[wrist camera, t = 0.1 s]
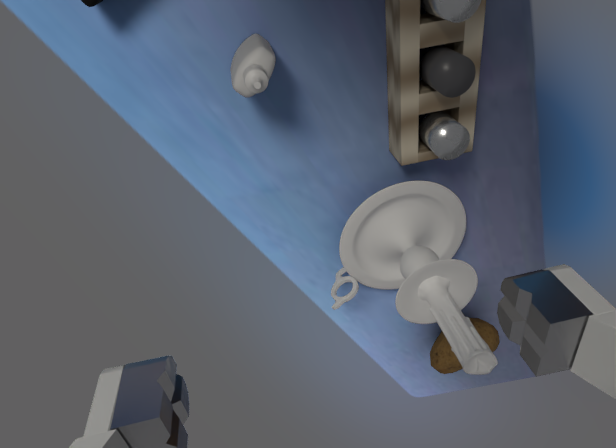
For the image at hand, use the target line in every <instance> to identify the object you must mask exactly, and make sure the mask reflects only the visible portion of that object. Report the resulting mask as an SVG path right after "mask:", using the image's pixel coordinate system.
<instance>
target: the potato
mask: <svg viewBox="0 0 616 448" xmlns="http://www.w3.org/2000/svg"><path fill="white" fill-rule="evenodd" d="M469 319H470V321H471V323H472V324H473V326H474V327H475V329H476V330H477V332H478V333H479V335H480V336H481V338H482V339H483V340H484V341H485V342H486V343H487V344H488V346H489V348H490V350H491V351H492V352H493V351H495V350H496V348H497V347H498V344H499V335H498V331H497V330H496V329H495V327H494V326H493V325H491V324H489V323H487V322H486V321H483V320H481V319H479V318H469ZM451 348H452V347H451V346H450V344H449V342H448V340H447V339H446V337H445V335H444V333H443V332H441V333H440V335H439V336H438V337H437V339H436V341H435V342H434V344H433V346H432V349H431V351H430V360H431V366H432V367H433V368H434V369H436V370H437V371H438V372H440V373H443V374H447V373H453V372H456V371H458V370H461V369H463V368H462V365H461V364H460V362H459V360H458V358H457V357H456V355H455V353H454V352H453V351H452V350H451Z"/></svg>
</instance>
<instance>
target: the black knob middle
mask: <svg viewBox="0 0 616 448" xmlns="http://www.w3.org/2000/svg"><path fill="white" fill-rule="evenodd" d="M419 73H420V77H421V79H422V80H423V81H424V82H425V83H426V84H428V85H429V86H431V87H432V88H433V89H435V90H436V91H438V92H439V93H441V94H442V95H443V96H445V97H449V98H453V97H458V96H460V95H462V94H464V93H465V92H466V91H467V90H468V89H469V88H470V87H471V85H472V83H473V81H474V79H475V74H476V69H475V65H474V63H473V61H472V60H471V59H470V58H468V57H466V56H464V55H462V54H460V53H458V52H456V51H454V50H452V49H450V48H448V47H445V46H437V47H434V48H432V49H431V50H429V51H428V52H427V53H426V54H425V55H424V57H423V58H422V60H421V63H420V67H419Z"/></svg>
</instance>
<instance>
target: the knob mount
mask: <svg viewBox="0 0 616 448" xmlns="http://www.w3.org/2000/svg"><path fill="white" fill-rule="evenodd" d="M485 7H486V0H481V3H480V5H479V7H478V9H477V10H476V12H475V13H474V14H473V15H472V16H471V17H470V18H469V19H467V20H465V21H463V22H459V23H453V22H450V21H447V20H445V19H442V18H439V17H436V16H434V15H431V14H429V13H427V14H421V15H420V0H385V9H386V46H387V82H388V119H389V151H390V152H391V153H392V154H393V156H394V157H395V158H396V159H397V161H398V162H399V163H400V164H401V166H403V165H408V164H412V163H417V162H422V161H427V160H432V159H437V158H439V157H438V156H437V155H436V154H435V153H434V152H433V151H432V150H431V149H430V148H429V147H428V146H427V145H426V144H425V143H424V142H423V141H422V140H421V139H420V137H419V136H418V126H419V115H420V114H425V113H431V112H436V111H441V110H442V111H443V112H446V113H447V114H448V115H450V116H451V117H452V118H454V119H455V120H456V121H457V122H459V123H460V124H461V125H463V126H464V127H465V128H466V129H467V130H468V132H469V134H470V142H469V145H468V147H467V149H466V150H465V151H464V153H466V152H471V151H472V149H473V138H474V127H475V116H476V105H477V94H478V83H479V73H480V62H481V51H482V40H483V29H484V18H485ZM442 44H445V47H448V48H450V49H452V50H454V51H456V52H458V53H460V54H462V55H464V56H466V57H468V58H470V59H471V60H472V61H473V63H474V65H475V69H476V74H475V79H474V81H473V83H472V85H471V87H470V88H469V89H468V90H467V91H466V92H465V93H464V94H462V95H460V96H458V97H453V98H449V97H445V96H443V95H442V94H441V93H439V92H438V91H436V90H435V89H433V88H432V87H431V86H429V85H428V84H426V83H425V82H424V81H423V80H419V54H420V49H421V48H426V47H431V46H437V45H442Z"/></svg>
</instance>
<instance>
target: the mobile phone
mask: <svg viewBox="0 0 616 448" xmlns="http://www.w3.org/2000/svg"><path fill="white" fill-rule="evenodd" d="M81 1H82V2H83V3H84V4H85V5H87V6H89V7H92V6H95V5H97V4H98V3H100V2H101V1H103V0H81Z"/></svg>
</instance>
